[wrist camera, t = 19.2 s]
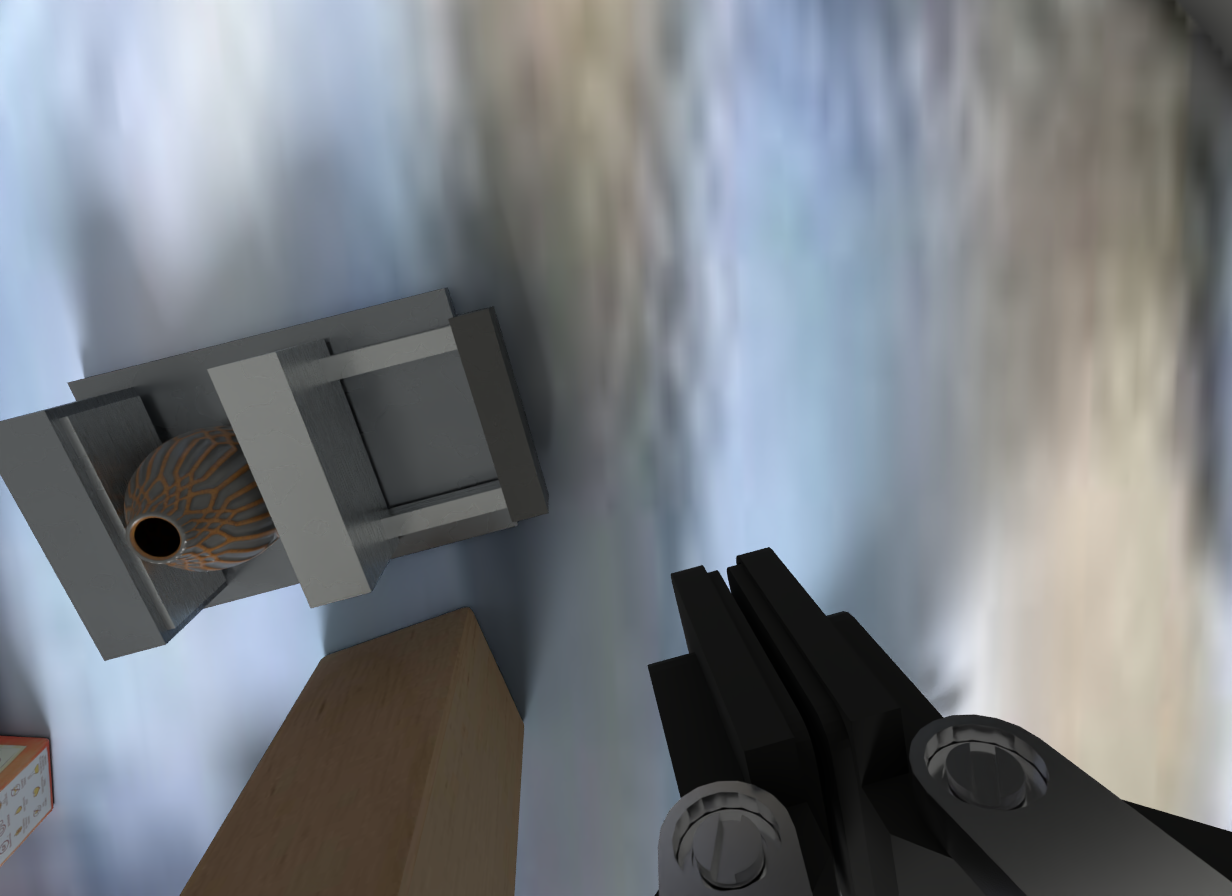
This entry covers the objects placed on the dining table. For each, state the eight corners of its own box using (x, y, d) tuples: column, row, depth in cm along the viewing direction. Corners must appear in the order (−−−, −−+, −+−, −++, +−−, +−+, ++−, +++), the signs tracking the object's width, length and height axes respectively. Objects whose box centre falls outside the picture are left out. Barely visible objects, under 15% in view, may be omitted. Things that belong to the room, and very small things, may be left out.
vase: (289, 400, 34) (202, 440, 25) (335, 515, 35) (268, 588, 27) (162, 431, 33) (32, 483, 25) (215, 546, 35) (111, 630, 27)
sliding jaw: (491, 296, 33) (478, 300, 27) (550, 502, 36) (551, 544, 30) (267, 353, 32) (207, 369, 27) (349, 555, 36) (310, 608, 30)
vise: (447, 287, 34) (421, 290, 27) (519, 517, 38) (511, 571, 31) (84, 379, 33) (-39, 405, 26) (194, 603, 37) (114, 677, 30)
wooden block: (320, 654, 39) (97, 1019, 20) (471, 601, 39) (394, 914, 20) (386, 774, 42) (247, 1196, 23) (527, 725, 42) (507, 1104, 23)
